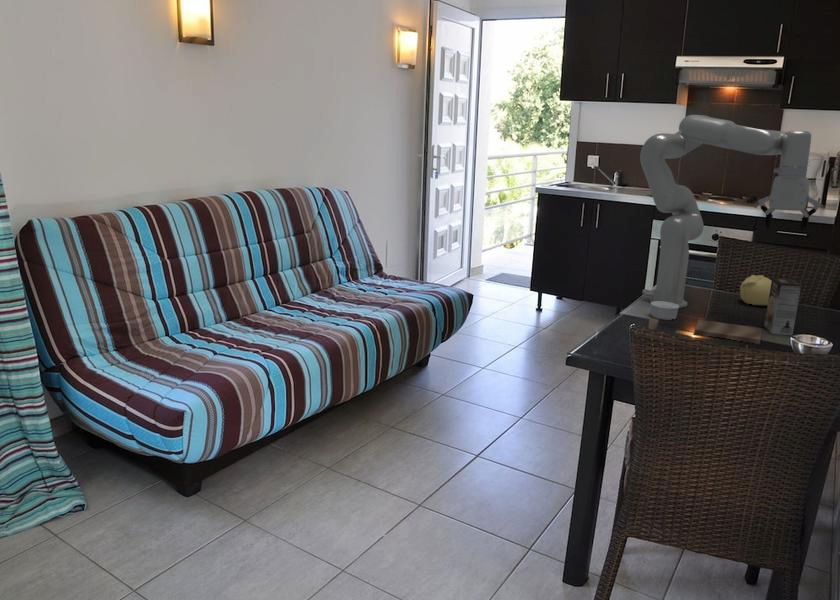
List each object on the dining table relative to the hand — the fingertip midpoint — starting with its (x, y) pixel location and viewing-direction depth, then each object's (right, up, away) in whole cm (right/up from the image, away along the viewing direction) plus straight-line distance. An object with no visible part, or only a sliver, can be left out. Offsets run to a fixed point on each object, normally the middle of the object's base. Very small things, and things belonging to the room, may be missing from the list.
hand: (785, 228), depth 215 cm
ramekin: (-33, -28, +14) cm, 45 cm away
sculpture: (+9, -24, +37) cm, 45 cm away
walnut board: (-19, -32, -3) cm, 38 cm away
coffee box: (-1, -32, +2) cm, 32 cm away
